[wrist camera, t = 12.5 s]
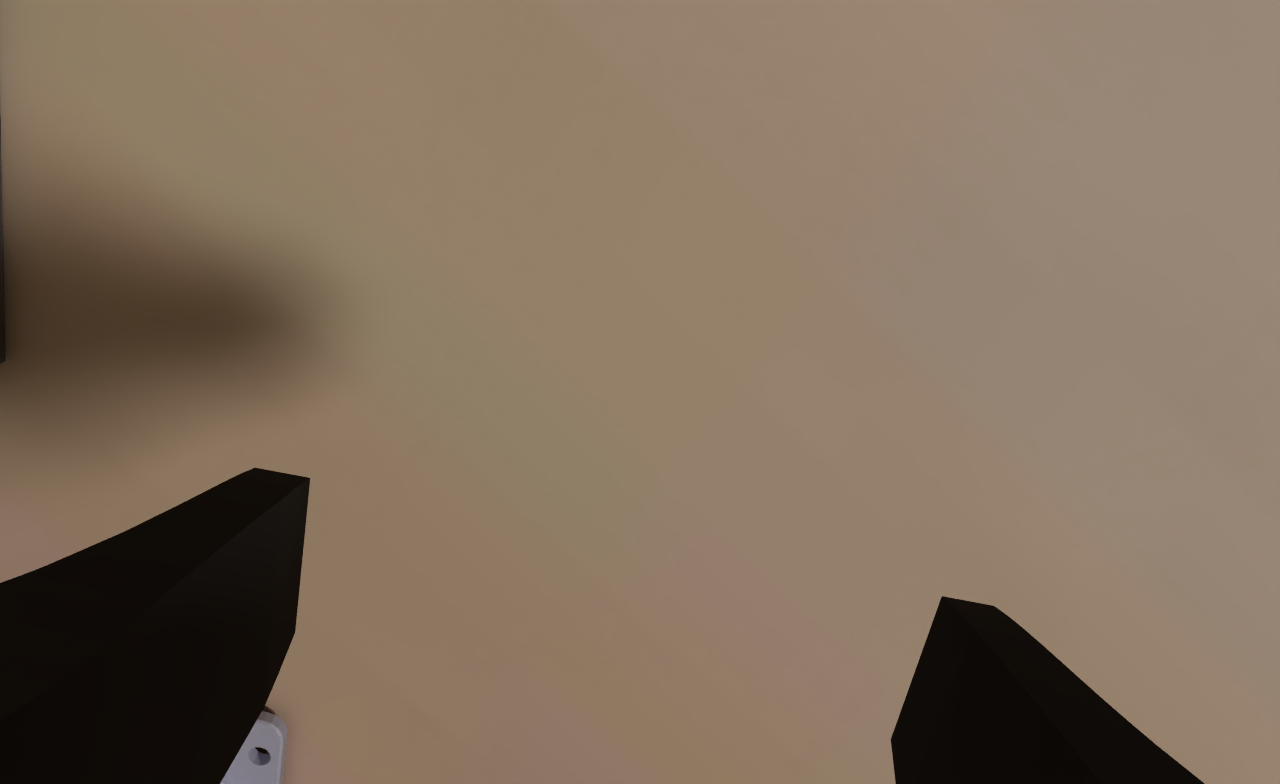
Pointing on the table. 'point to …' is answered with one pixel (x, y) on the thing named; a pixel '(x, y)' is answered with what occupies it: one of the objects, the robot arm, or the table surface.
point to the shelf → (1, 273)
